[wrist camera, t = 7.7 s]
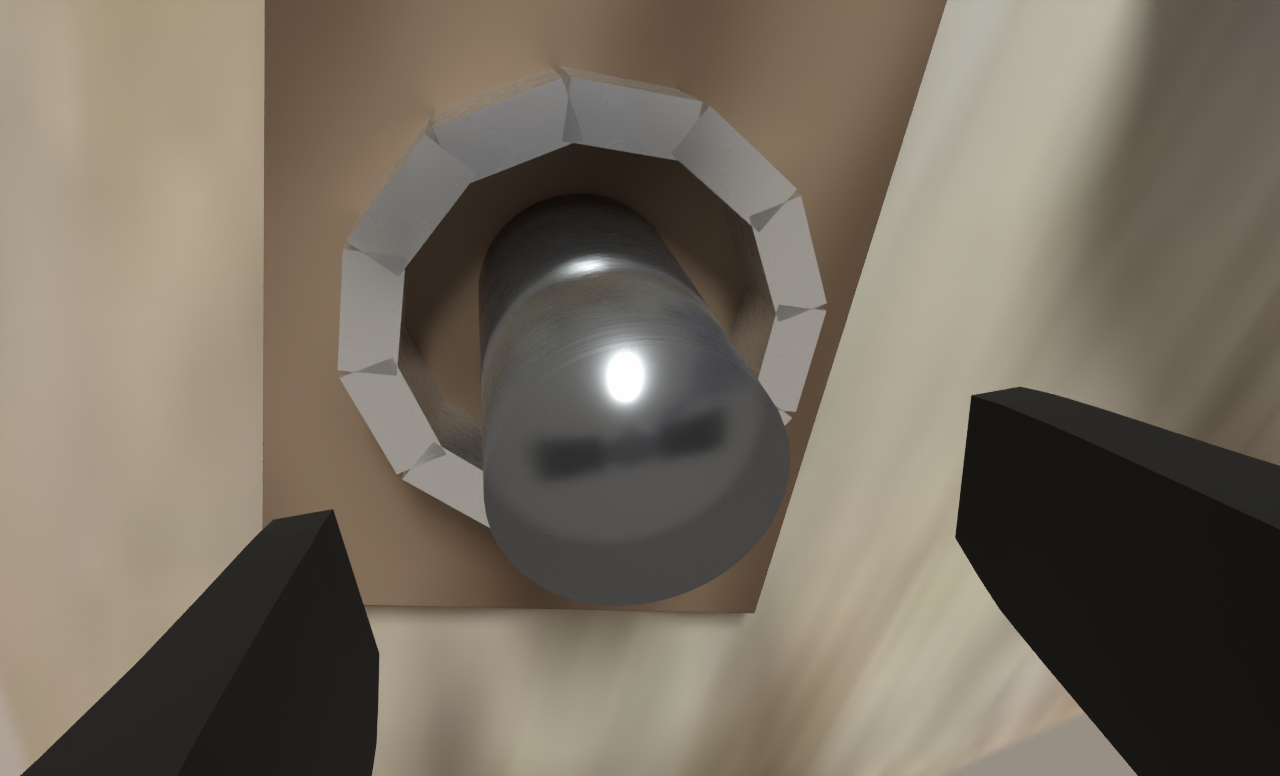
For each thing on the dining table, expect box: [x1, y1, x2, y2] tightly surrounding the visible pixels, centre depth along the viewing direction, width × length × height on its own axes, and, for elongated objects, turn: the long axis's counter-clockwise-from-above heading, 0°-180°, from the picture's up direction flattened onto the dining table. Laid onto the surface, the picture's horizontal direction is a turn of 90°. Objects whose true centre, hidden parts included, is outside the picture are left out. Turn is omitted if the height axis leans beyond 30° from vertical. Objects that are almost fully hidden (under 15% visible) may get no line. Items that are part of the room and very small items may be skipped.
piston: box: [478, 194, 790, 606], centre depth 14 cm, size 4×4×7 cm
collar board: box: [263, 0, 947, 613], centre depth 16 cm, size 12×16×3 cm
